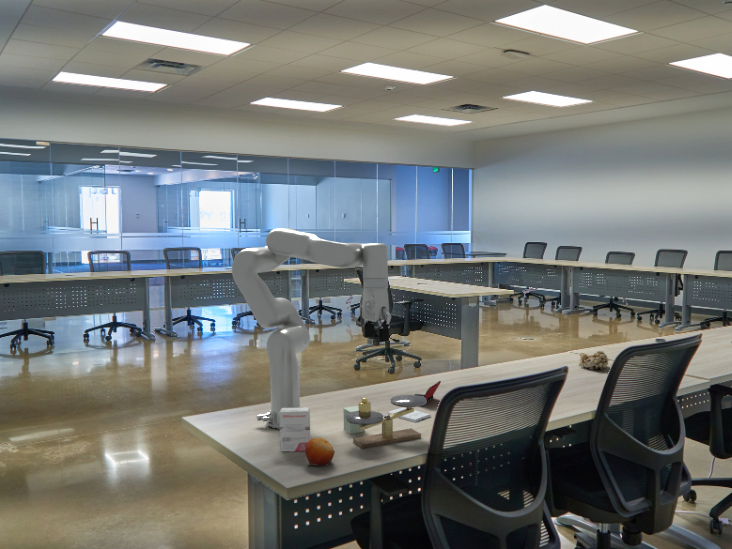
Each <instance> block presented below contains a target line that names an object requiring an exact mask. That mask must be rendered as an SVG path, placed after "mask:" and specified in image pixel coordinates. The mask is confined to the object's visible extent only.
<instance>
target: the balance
mask: <svg viewBox="0 0 732 549" xmlns="http://www.w3.org/2000/svg"><path fill="white" fill-rule="evenodd" d="M427 403H428V402H427V399H426V398H425V397H422V396H418V395H414V394H400V395H396V396H392V397H391V398H390V404H392V405H393V406H396V407H398V408H402V407H403V408H406V409H405V410H402V411H399V412H396V413H393V414H391V415H388V414H385V415H384V414H383V413H380V412H379V411H373V410H371V409H372V407H371V404H372V403H371V401H368V399H367V398H366V397H362V399H361V401H359V402H358V403H357V404H358V405H357V406H359V411H357V412H352V413H349V414H348V415H347V416H346V420H347V421H348V422H349V423H352V424H358V425H360V426H359V427H360V429H361V430H365V431H366V430H368V429H370V428H372V427H375V426H378V425H381V433H378V434H372V435H371V434H370V435H365V436H360V437H354V438H352V441H353V442H352V443H354V444H355V445H356V446H357V447H359V448H360V449H368V448H372V447H373V448H374V447H379V446H382V445H383V444H384V445H389V444H388V443H390V444H394V442H395V443H399V442H405V441H410V440H415V439H416V438H417V439H420V438H421V439H422V433H420V432H419V431H417V430H415V429H413V428H412V427H411V428H405V429H399V430H393V429H394V424H393V422H394V420H395V419H397V418H398V417H401V416H403V415H406V414H409V413H412V412H414V410H415V409H414V408H416V407H417V408H418V407H423V406H425V405H427Z"/></svg>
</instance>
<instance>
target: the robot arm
mask: <svg viewBox="0 0 732 549" xmlns="http://www.w3.org/2000/svg"><path fill="white" fill-rule="evenodd" d="M291 258H294V259H295V258H296V259H299V260H305V261H310V262H311V263H316V264H320V265H323V266H328V267H329V266H330V267H333V268H339V269H349V268H357V267H362V272H363V273H362V278H363V279H362V280H363V285H362V286H363V290H362V301H361V302H362V303H361V318H362V320H363V326H364V337H365V338H373V337H375V323H376V322H377V323H378V326H379V328H378V342H380V343H384V342H389V341H390V327H391V326H390V325H391V319H392V314H391V313H390V304H389V303H390V302H389V292H388V288H389V271H388V270H389V269H388V264H389V263H388V260H389V259H388V258H389V257H388V246H387V244H385V243H384V242H383V243H382V242H381V243H380V242H379V243H377V242H376V243H375V242H374V243H360V242H344V243H343V242H337V241H332V240H327V239H322V238H320V237H318V235H316V234H315V233H309V232H303V231H298V230H297V229H294V228H283V227H281V228H275V229H274V228H273V229H272V230H271V231H269V233H268V234H267V235H266V238H265V246H263V247H260V246H258V247H248V248H244V249H242V250H240V251H239V252H237V254H236V255H235V257H234V258H233V261H232V264H231V275H232V278H233V281H234V283H235V285H236V287H238V290H239V291H240V293H241V294H242V296H243V297H244V300H245V302H246V305H247V306H248V307H249V309H250V311H251V314H252V315H253V316H254V318H255V320H256V322H257V324H258V325H259V326H260V327H261V328H263V329H274V328H277V329H276V330H274V331H272V332H271V334H270V335H269V336H268V338H267V342H266V352H267V357H268V362H269V363H268V364H269V378H270V382H269V384H270V409H268V412H266V413H264V414H263V413H261V414H257V415H256V421H257V422H260V421H262V422H263V423H264V422H266V426H267V425H268V427H269V426H270V427H269V428H271V427H272V429H275V428H277V429H278V430H280V421H279V412H280V410H281V408H301V404H300V403H301V400H300V398H301V397H300V396H301V395H300V394H301V393H300V390H301V389H300V388H301V387H300V366H299V362H298V360H297V354H300V353H302V352H304V351H306V350H307V348H308V347H309V345H310V343H311V335H310V332H309V330H308V328H307V326H306V324H305V322H304V321H303V319H302V317H301V316H300V313H299V311H298V310H297V308H296V306H295V304H293V302H292V301H290V300H289V299H288V298H285V297H275V296H274V295H273V294H272V292H271V290H270V287H268V285H267V283H266V282H265V281H264V280H263V279H262V278H261V277H260V275H259V274H260V273H267V272H271V271H273V270H276V269H277V268H279V267H280V266H282V265H283V264H284V263H285V262H287V261H288V260H289V259H291ZM258 273H259V274H258ZM277 429H276V430H277Z"/></svg>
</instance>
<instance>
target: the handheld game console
mask: <svg viewBox="0 0 732 549" xmlns="http://www.w3.org/2000/svg"><path fill="white" fill-rule="evenodd" d="M440 385H441V380H438V382H436V383H434V384H433V385H431V386H430V387H428V388H427V390H426V392H425V393H424V394H421V393H414V394H413V395H418V396H422V397H425V398H426V399H427V401H428V400H430V399H431V398H433V399H434V395H435V393H436V392H437V389H438V388H439V386H440ZM431 400H432V399H431ZM431 400H430V401H431ZM428 402H429V401H428Z"/></svg>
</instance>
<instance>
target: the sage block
mask: <svg viewBox="0 0 732 549" xmlns="http://www.w3.org/2000/svg"><path fill="white" fill-rule="evenodd" d="M357 411H359V406H358V405H354V406H347V407H343V430H344V431H345V432H347V433H349V435H352V434H359V433H364V432H366V429H365V430H361V429H360V427H359V426H360V425H358V424H352V423H349V422H348V421H347V420H346V416H347V415H348V414H349V413H352V412H357Z"/></svg>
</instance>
